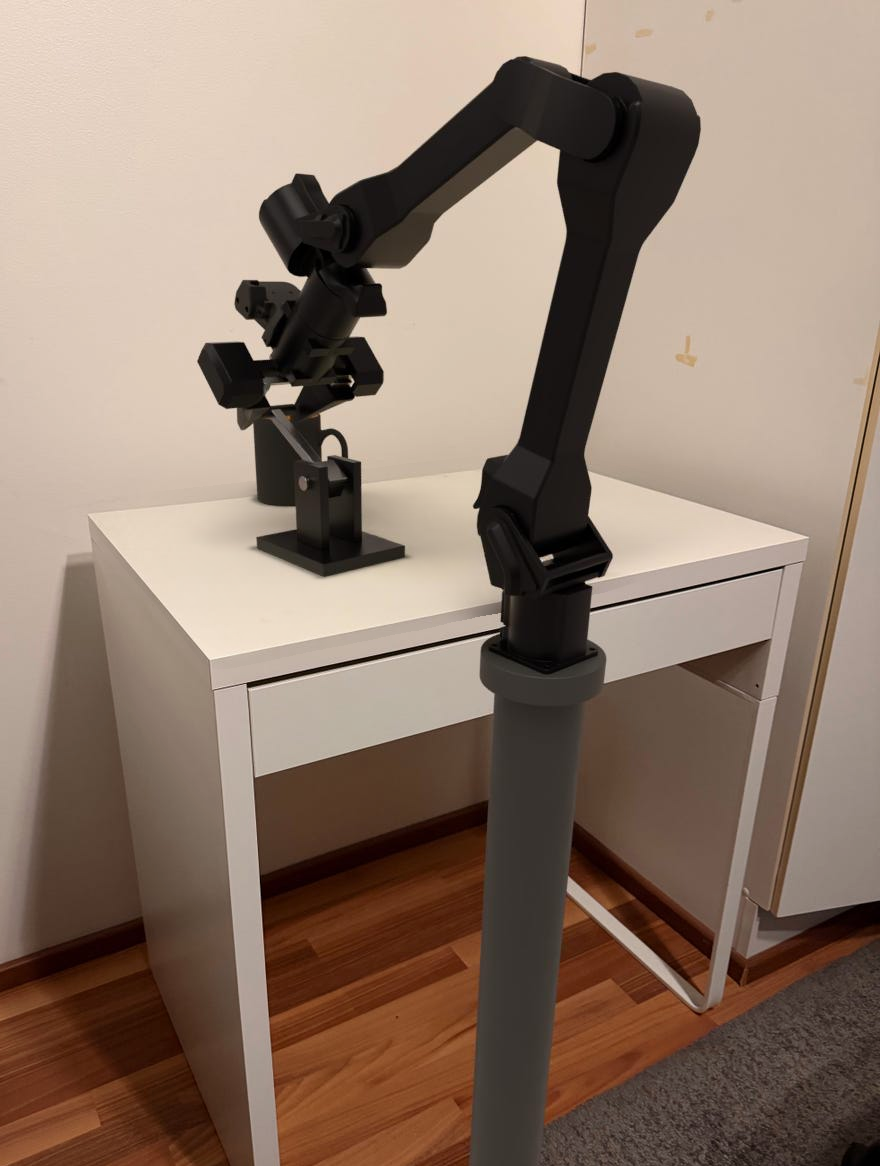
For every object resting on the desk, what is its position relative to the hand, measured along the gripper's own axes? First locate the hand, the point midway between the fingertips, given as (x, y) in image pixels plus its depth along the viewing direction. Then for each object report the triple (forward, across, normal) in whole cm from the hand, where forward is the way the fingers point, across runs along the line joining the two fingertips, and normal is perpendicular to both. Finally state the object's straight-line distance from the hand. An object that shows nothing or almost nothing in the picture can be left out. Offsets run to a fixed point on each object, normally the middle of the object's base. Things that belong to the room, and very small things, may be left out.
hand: (267, 423), depth 92 cm
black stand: (0, 0, +16) cm, 16 cm away
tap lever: (-2, 0, +6) cm, 6 cm away
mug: (+16, -11, +1) cm, 19 cm away
